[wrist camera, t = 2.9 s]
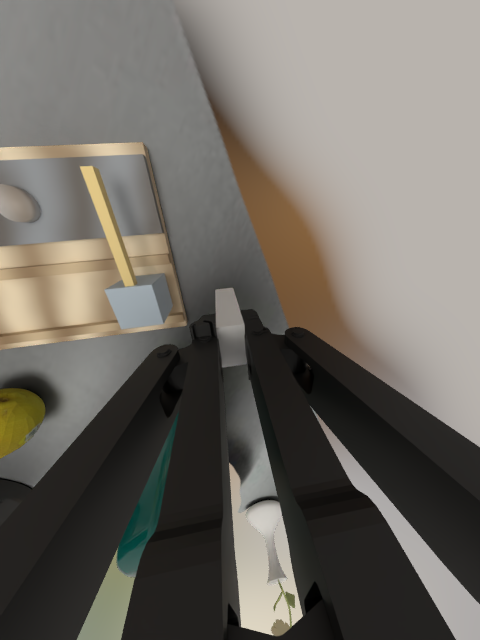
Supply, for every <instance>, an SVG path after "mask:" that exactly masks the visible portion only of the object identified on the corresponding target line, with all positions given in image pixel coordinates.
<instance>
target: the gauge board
mask: <svg viewBox="0 0 480 640" xmlns="http://www.w3.org/2000/svg"><path fill="white" fill-rule="evenodd" d="M80 166H93V167H95V168H97V169H99V172H100V175H101V177H102V180H103V183H104V186H105V189H106V192H107V195H108V198H109V201H110V204H111V207H112V210H113V213H114V216H115V219H116V221H117V224H118V227H119V230H120V233H121V236H122V239H123V242H124V245H125V248H126V251H127V254H128V257H129V260H130V263H131V266H132V268H133V271H134V274H135V276H140V275H150V274H160V273H164V274H165V277H166V281H167V285H168V289H169V293H170V296H171V300H172V304H173V307H172V309H171V311H170V313H169V315H168V317H167V319H166V321H165V323H164V324H160V325H152V326H144V327H136V328H128V329H121V327H120V325H119V323H118V320H117V318H116V316H115V313H114V311H113V309H112V306H111V304H110V302H109V299H108V297H107V295H106V293H105V289H106V288H108V287H110V286H112V285H114V284H115V283H117V282H119V281H121V280H122V278H121V275H120V272H119V270H118V267H117V264H116V262H115V259H114V256H113V254H112V251H111V248H110V246H109V243H108V240H107V238H106V235H105V232H104V230H103V227H102V224H101V222H100V219H99V216H98V214H97V211H96V208H95V206H94V203H93V200H92V198H91V195H90V193H89V190H88V187H87V185H86V182H85V179H84V177H83V174H82V171H81V169H80ZM187 322H188V321H187V317H186V313H185V308H184V304H183V300H182V295H181V291H180V287H179V283H178V278H177V274H176V270H175V266H174V261H173V257H172V253H171V248H170V244H169V240H168V236H167V231H166V227H165V223H164V218H163V214H162V210H161V206H160V201H159V197H158V193H157V189H156V184H155V180H154V176H153V171H152V167H151V163H150V159H149V154H148V150H147V147H146V146H145V145H144V144H143V142H137V143H111V144H84V145H58V146H31V147H5V148H0V350H1V349H9V348H17V347H25V346H32V345H40V344H48V343H56V342H64V341H71V340H79V339H87V338H95V337H102V336H110V335H118V334H126V333H134V332H141V331H149V330H157V329H165V328H173V327H180V326H187Z"/></svg>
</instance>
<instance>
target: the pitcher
mask: <svg viewBox="0 0 480 640" xmlns="http://www.w3.org/2000/svg"><path fill="white" fill-rule="evenodd" d="M178 414H179V412H178ZM178 414H177V416H176V418H175V421H174V423H173V425H172V427H171V430H170V432H169V434H168V436H167V439H166V441H165V443H164V445H163V448H162V450H161V452H160V454H159V456H158V459H157V461H156V463H155V465H154V468H153V470H152V472H151V474H150V477H149V479H148V481H147V483H146V486H145V488H144V490H143V492H142V494H141V497H140V499H139V501H138V503H137V506H136V508H135V510H134V512H133V515H132V517H131V519H130V521H129V524H128V526H127V528H126V530H125V532H124V535H123V537H122V539H121V541H120V544H119V546H118V551H117V561H116V563H117V568H118V569H119V571H121V572H122V573H123V574H124V575H126V576H128V577H133V578H135V576H136V573H137V569H138V565H139V562H140V558H141V555H142V553H143V550H144V548H145V545H146V543H147V542H148V540H149V539H150V538H151V536H152V535H153V534H154V532H155V529H156V527H157V524H158V519H159V515H160V510H161V505H162V499H163V494H164V489H165V483H166V478H167V473H168V467H169V462H170V457H171V452H172V446H173V441H174V436H175V430H176V425H177V420H178Z"/></svg>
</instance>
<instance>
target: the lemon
mask: <svg viewBox="0 0 480 640" xmlns="http://www.w3.org/2000/svg"><path fill="white" fill-rule="evenodd" d="M44 415H45V405H44V403H43V400H42V399H41V398H40V397H39V396H38V395H36V394H34V393H33V392H30V391H28V390H25V389H20V388H6V389H0V458H2V457H4V456H6V455H8V454H10V453H11V452H13V451H15V450H17V449H18V448H20V447H21V446H23V445H24V444H25V443H26V442H27V441H28V440H29V439H30V438H32V437H33V435H34V434H35V433H36V431H37V430H38V429H39V427H40V425H41V423H42V421H43V418H44Z"/></svg>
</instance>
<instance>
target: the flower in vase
mask: <svg viewBox="0 0 480 640" xmlns="http://www.w3.org/2000/svg"><path fill="white" fill-rule="evenodd" d="M281 516H282V512H281V508H280V504H279V502H277V501H274V500H266V501H261V502H258V503H256V504H254V505H252V506H251V507H250V508H249V509H248V510H247V512H246V518H247V521H248V522H249V523H250V524H251V525H252V526H253V527H254V528H256V529H257V530H258V531H259V532H260V533H261V534H262V535H263V536H264V539H265V542H266V546H267V551H268V559H269V577H268V582H267V585H275V584H279V585H280V588H281V590H282V592H283V594H284V597H285V599H286V601H287V604H288V608H289V614H290V626H289V625H288V624H287V623H285V624H284V622H283V621H282V620H280V621H279V620H276V623H275V622H274V624H273V626H272V628H271V631H272V633H273V634H274V635H273V636H280V635H283V634H284V633H285V632H287V631H288V630H289V629H290V628H291V627H292V624H291V623H292V622H291V611H290V606H289V605H291V606H292V607H293V608H295V596H294V595H292V594H290V593H288V592H286V595H285V593H284V591H283V589H282V586H281V584H280V583H282V582H284V581H286V580H287V577H286V576H285V574H284V572H283V571H282V569H281V566H280V563H279V560H278V557H277V553H276V549H275V543H274V531H275V529H276V526H277V524H278V522H279V520H280V518H281ZM282 592H281V594H280V596H279V598H278V600H277V601H276V603H275V605H274V611H275V607H276V604H277V603H278V601H279V600H280V598H281V596H282Z"/></svg>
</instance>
